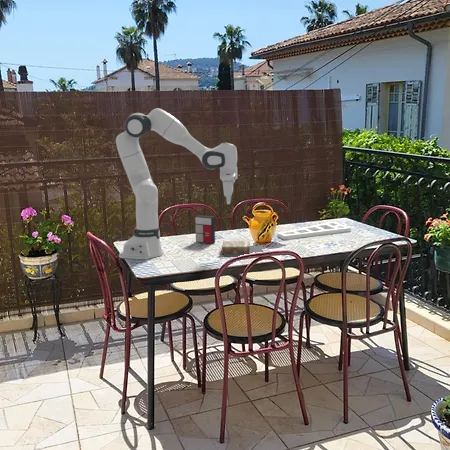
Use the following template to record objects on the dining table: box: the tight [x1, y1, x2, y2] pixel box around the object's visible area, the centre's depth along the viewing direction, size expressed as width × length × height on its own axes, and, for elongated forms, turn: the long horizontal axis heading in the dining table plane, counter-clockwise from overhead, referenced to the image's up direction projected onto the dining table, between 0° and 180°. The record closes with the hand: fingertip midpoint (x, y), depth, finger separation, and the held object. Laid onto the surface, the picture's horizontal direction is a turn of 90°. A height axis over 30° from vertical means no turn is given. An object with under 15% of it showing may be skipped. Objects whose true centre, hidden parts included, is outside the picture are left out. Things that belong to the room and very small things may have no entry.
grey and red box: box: [194, 214, 216, 245], centre depth 264 cm, size 11×4×15 cm, turn 62°
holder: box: [276, 221, 352, 241], centre depth 283 cm, size 45×18×3 cm, turn 111°
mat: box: [224, 245, 266, 258], centre depth 246 cm, size 21×18×1 cm
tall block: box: [221, 240, 251, 255], centre depth 246 cm, size 4×11×14 cm
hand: (229, 202), depth 241 cm, fingers open, 8 cm apart
